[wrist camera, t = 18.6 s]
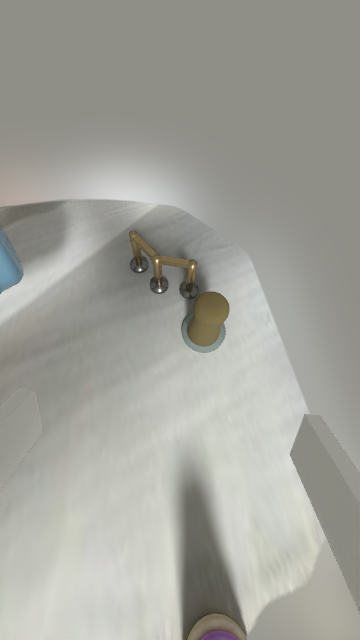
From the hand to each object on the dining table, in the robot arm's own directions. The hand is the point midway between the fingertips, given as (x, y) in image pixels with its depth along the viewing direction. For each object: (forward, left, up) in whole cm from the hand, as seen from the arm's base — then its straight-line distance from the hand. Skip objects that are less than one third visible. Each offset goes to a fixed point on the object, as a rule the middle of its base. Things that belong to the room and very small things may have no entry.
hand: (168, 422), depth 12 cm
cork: (+3, +16, -27) cm, 32 cm away
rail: (-6, +26, -28) cm, 38 cm away
